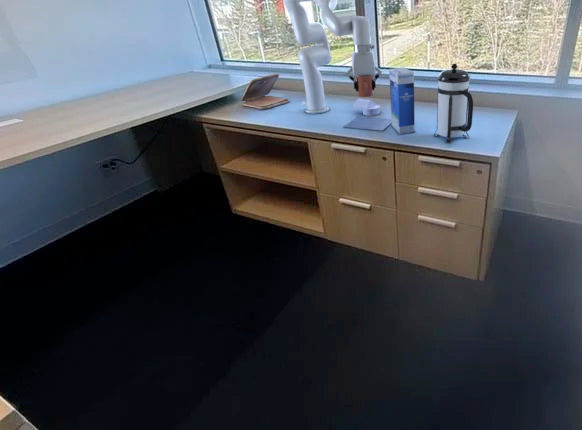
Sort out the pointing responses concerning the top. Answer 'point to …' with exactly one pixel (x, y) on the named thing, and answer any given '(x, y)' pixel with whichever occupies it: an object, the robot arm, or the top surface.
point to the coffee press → (454, 103)
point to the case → (262, 93)
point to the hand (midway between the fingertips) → (365, 89)
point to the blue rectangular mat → (369, 123)
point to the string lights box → (402, 99)
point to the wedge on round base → (367, 107)
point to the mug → (364, 86)
